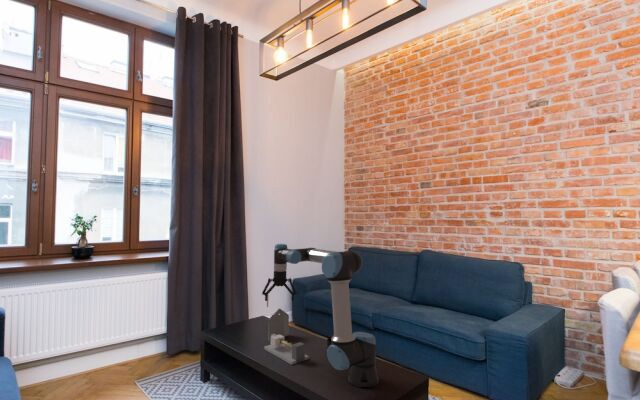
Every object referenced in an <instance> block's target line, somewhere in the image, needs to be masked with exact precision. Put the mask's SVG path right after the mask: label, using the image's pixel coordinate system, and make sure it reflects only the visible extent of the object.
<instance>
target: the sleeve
mask: <svg viewBox="0 0 640 400" xmlns="http://www.w3.org/2000/svg"><path fill="white" fill-rule="evenodd" d="M285 337H286V336H285ZM285 337H284V336H282V335H280V334H279V335H276V336H272V337H271V341H270V345H273V346H275V347H276V346H280V345H283V343H281V342H280V340H283V341H285Z"/></svg>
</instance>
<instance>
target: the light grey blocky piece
mask: <svg viewBox="0 0 640 400" xmlns="http://www.w3.org/2000/svg"><path fill="white" fill-rule="evenodd" d="M272 336H276V334H272V335H271V337H272ZM280 342H281V343H283V345H280V346H276V347H275V346H273V345H271V344H268V345H264V347H263V350H265V351H267V352H268V353H270V354H271V355H274V356H275V357H278V358H279V359H281V360H283V361H284V362H287V363H288V364H289V365H291V366H292V365H295V364H296V365H297V364H298V363H301V362H304V361H306V360H309V359H310V357H309V355H307V354H305V353H306V349H305V347H306V344H305V343H303V342H301V341H300V342H297V343H293V344H292V342H288V340H284V341H283V340H280Z"/></svg>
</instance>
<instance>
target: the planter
mask: <svg viewBox="0 0 640 400" xmlns="http://www.w3.org/2000/svg"><path fill="white" fill-rule="evenodd" d="M289 320H290V314H288V313H287V312H285V310H283V309H282V308H277V310H276V312H274V314H271V315H270V317H269V319H268V334H267V339H268V342H271V335H272V334H276V335H279V334H280V335H282V336H284V337H288V336H289V334H290V331H289V329H290V324H289V323H290V321H289Z"/></svg>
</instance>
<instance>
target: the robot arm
mask: <svg viewBox="0 0 640 400" xmlns="http://www.w3.org/2000/svg"><path fill="white" fill-rule="evenodd" d="M273 252H274V253H273V278H270V277H269V278H268V279H267V283H266V284H265V286H264V288H263V290H262V292H261V295H262V296H264V300H265V302H266V308H269V294H270V293H271V292H272V291H273V289H274V288H275V287H284V288H285V289H286V290H287V291H288V292H289V295H290V296H289V307H291V308H292V305H293V304H292V302H293V301H294V296H295V295H297V294H298V293H297V290H296V288H295V285H294V284H293V282H292V281H293V279H292V278H291V277H289V278H287V271H288V270H287V266H288V263H289V264H292V265H293V264H294V265H297V264H299V263H302V262H312V263H318V264H321V271H322V273H323V275H324V277H326V278H327V282H328V283H329V284H330V288H331V289H330V291H331V306H332V321H333V335H332V336H331V337H332V338H331V343H332V345H330V346H329V347H328V349H327V348H326V356H327V359H328V362H329V363H330V364H331V366H332V367H333V368H334V369H335V370H337V371H344V370H348V369H349V368H350V369H349V373H348V379H347V380H348V383H350V384H351V385H352V386H354V387H357V388H361V387H371V388H374V387H376V386H378V385H379V383H380V376H379V373H378V370H377V367H376V366H377V365H376V357H377V355H376V352H377V351H376V350H377V341H376V337H375V335H373V334H372V333H370V332H369V333H368V332H364V331H354V332H353V327H352V316H351V314H352V312H351V311H352V310H351V300H350V298H351V297H350V287H349V286H350V285H349V283H350V282H351V281H352V275H355V274H356V273H358V272H359V271H360V270H361V269H362V267H363V262H364V261H363V257H362V256H361V254H360V253H359V252H357V251H355V250H343V251H336V250H335V251H333V250H326V249H320V248H319V249H318V248H316V247H307V248H305V247H304V248H295V249H293V248H291V249H290V248H288V245H287V244H285V243H276V244H275V245H274V250H273ZM272 282H273V284H272V285H271V286H270V287H269V285H270V284H271V283H272ZM287 282H288V283H289V285H290V286H291V288H290V287H289V286H288V285H287ZM268 287H269V288H268ZM377 384H378V385H377ZM375 385H376V386H375ZM373 386H374V387H373Z"/></svg>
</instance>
